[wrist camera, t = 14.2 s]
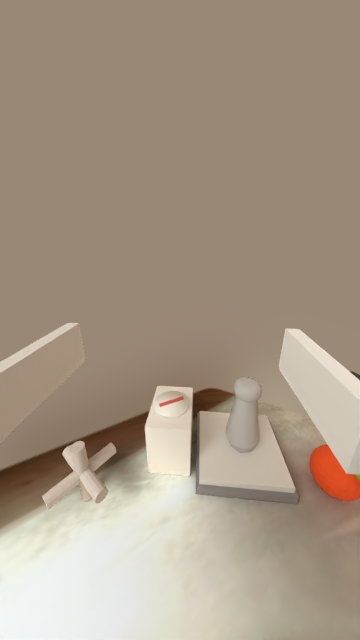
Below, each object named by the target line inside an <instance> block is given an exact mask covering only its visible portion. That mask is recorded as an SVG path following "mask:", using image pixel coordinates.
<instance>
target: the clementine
mask: <svg viewBox="0 0 360 640" xmlns="http://www.w3.org/2000/svg"><path fill="white" fill-rule="evenodd" d="M310 469H311V472H312V475H313V477H314V479H315V481H316V482H317V484H318V485H319V486H320V487H321V488H322V489H323V490H324V491H325V492H326V493H328V494H329V495H331V496H332V497H335V498H337V499H340V500H344V501H353V500H357V499H358V498H360V475H357V474H346V472H345V471H344V469H343V468H342V466H341V465H340V463H339V461H338V460H337V458H336V457H335V455H334V454H333V452H332V451H331V449H330V447H329V446H328V445H322V446H320V447H318V448H316V449H315V450H314V451H313V453H312V454H311V457H310Z"/></svg>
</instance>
